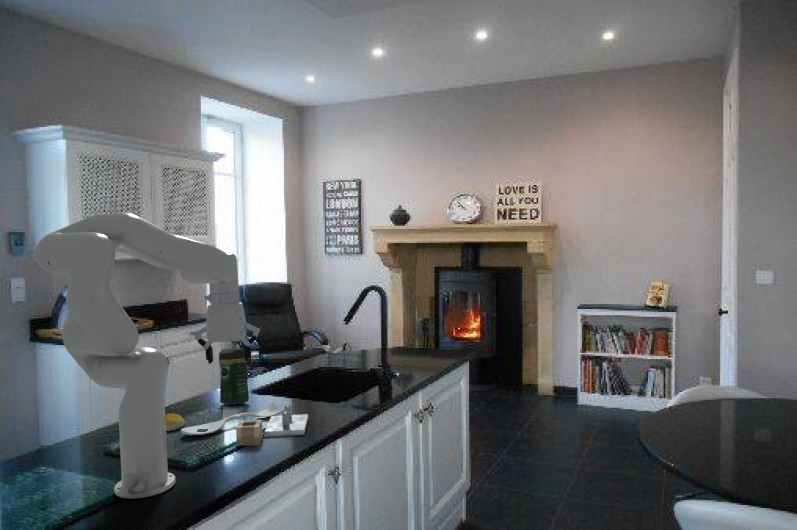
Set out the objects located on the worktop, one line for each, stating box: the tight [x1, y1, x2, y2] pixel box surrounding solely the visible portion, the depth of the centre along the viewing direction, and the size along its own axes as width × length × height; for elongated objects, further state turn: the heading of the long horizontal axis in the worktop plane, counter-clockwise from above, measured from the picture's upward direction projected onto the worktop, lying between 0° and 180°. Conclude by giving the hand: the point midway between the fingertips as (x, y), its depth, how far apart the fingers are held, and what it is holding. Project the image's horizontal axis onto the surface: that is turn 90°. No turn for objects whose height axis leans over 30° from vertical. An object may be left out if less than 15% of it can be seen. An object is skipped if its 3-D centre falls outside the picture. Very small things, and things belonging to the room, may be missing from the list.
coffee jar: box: [218, 347, 250, 406], centre depth 199 cm, size 10×8×19 cm
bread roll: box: [165, 413, 186, 429], centre depth 175 cm, size 8×9×4 cm
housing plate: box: [264, 404, 309, 438], centre depth 172 cm, size 15×11×6 cm
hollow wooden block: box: [235, 419, 264, 447], centre depth 160 cm, size 6×6×5 cm
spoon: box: [180, 402, 285, 436], centre depth 175 cm, size 9×32×4 cm, turn 132°
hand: (229, 361), depth 159 cm, fingers open, 9 cm apart
